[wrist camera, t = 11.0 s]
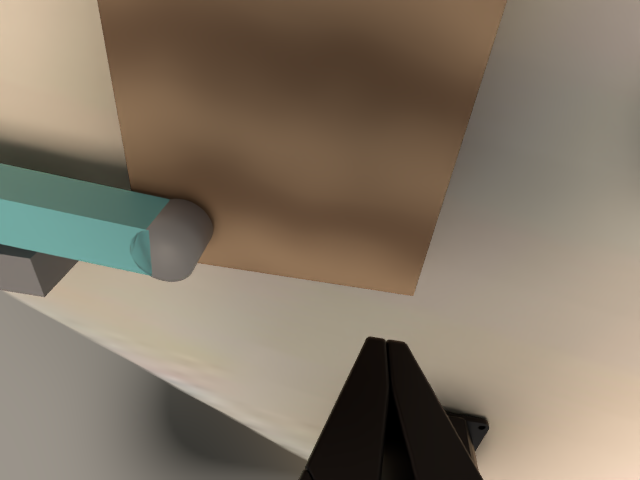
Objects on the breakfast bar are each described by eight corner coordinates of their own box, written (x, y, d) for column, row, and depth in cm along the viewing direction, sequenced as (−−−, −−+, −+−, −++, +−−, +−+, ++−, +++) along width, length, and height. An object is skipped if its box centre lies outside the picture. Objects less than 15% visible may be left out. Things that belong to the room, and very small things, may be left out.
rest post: (94, 243, 24) (44, 297, 21) (-6, 228, 25) (-74, 278, 21) (85, 208, 23) (30, 258, 19) (-21, 192, 23) (-96, 239, 19)
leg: (213, 206, 19) (194, 237, 17) (212, 253, 21) (194, 287, 19) (-134, 131, 19) (-195, 154, 17) (-108, 185, 21) (-161, 212, 19)
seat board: (410, 270, 23) (413, 295, 21) (159, 232, 23) (142, 254, 22) (581, -300, 11) (614, -340, 10) (74, -354, 12) (24, -403, 10)
